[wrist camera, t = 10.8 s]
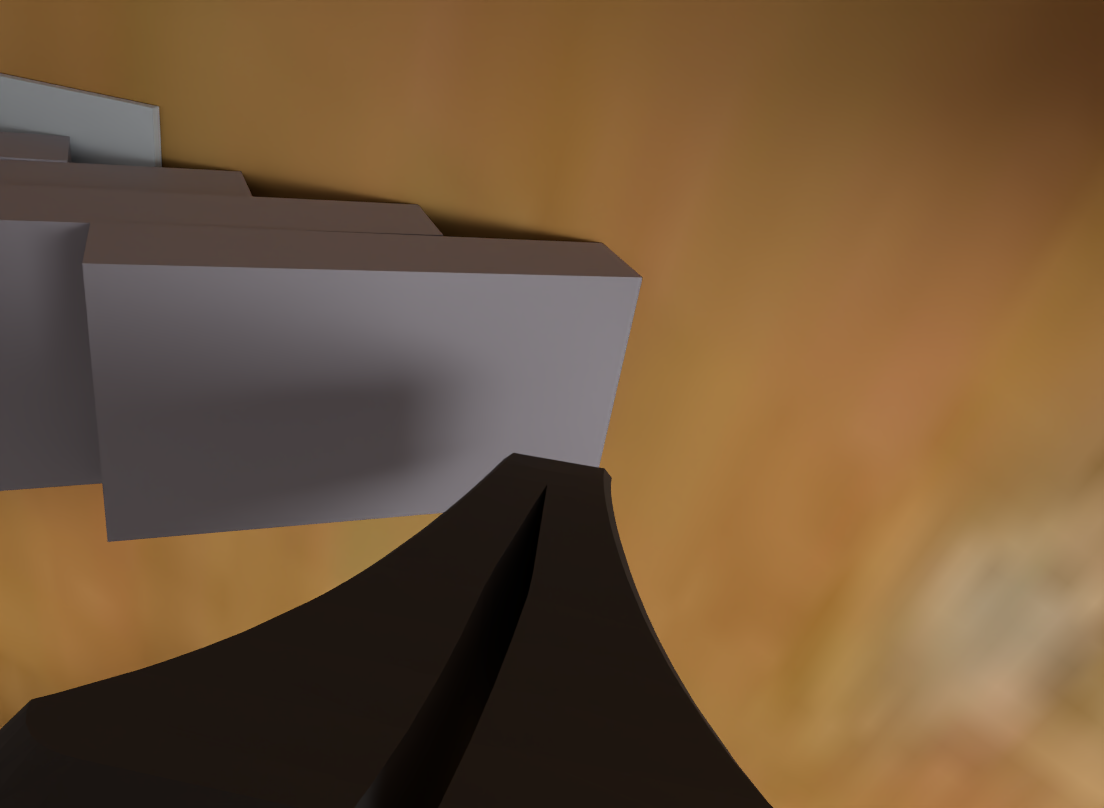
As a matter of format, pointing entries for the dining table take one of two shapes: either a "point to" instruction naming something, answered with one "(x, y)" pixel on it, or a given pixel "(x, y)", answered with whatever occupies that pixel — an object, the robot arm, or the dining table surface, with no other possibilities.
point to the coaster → (83, 121)
